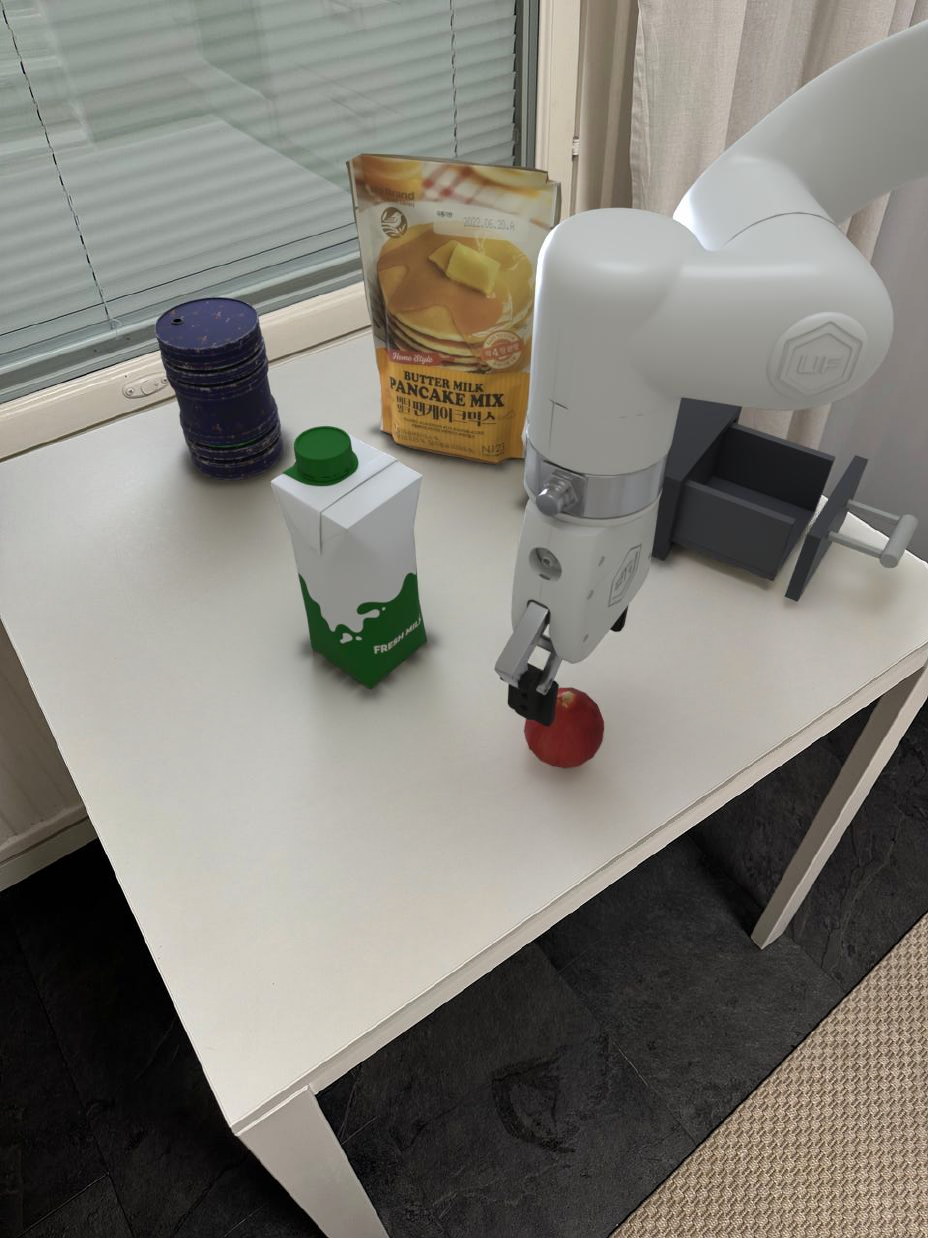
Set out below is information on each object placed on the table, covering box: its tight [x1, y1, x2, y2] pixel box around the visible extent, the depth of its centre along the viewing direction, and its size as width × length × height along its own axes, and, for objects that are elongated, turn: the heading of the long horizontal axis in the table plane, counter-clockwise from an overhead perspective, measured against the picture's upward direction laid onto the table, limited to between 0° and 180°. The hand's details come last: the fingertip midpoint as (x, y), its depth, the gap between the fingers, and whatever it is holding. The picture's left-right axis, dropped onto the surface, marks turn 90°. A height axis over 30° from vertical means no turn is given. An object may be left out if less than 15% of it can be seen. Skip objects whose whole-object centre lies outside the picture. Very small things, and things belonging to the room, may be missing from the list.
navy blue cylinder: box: [153, 296, 285, 481], centre depth 89 cm, size 10×10×15 cm
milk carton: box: [270, 425, 428, 690], centre depth 69 cm, size 9×9×20 cm
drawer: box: [671, 422, 919, 603], centre depth 80 cm, size 20×13×7 cm, turn 56°
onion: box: [523, 686, 605, 769], centre depth 65 cm, size 6×6×8 cm
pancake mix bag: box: [344, 152, 563, 466], centre depth 86 cm, size 7×19×28 cm, turn 71°
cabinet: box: [527, 397, 743, 561], centre depth 86 cm, size 15×14×9 cm
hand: (567, 666), depth 60 cm, fingers open, 9 cm apart
